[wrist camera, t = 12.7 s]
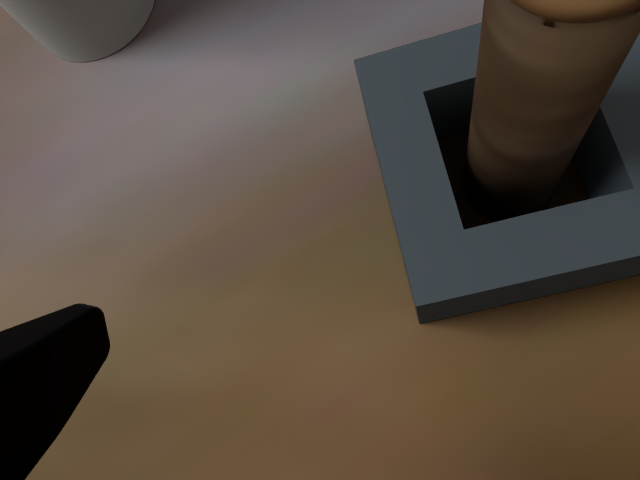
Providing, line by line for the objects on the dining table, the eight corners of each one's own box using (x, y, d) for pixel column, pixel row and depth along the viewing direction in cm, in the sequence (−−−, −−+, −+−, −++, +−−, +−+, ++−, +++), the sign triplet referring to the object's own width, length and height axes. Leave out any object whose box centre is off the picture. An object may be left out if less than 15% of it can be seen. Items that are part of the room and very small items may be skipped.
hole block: (680, 265, 21) (734, 234, 17) (419, 324, 22) (416, 306, 18) (588, 49, 24) (616, -17, 20) (365, 111, 25) (353, 59, 22)
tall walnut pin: (573, 186, 22) (735, -78, 10) (502, 239, 22) (581, 36, 10) (513, 126, 24) (593, -172, 11) (446, 176, 24) (455, -71, 11)
